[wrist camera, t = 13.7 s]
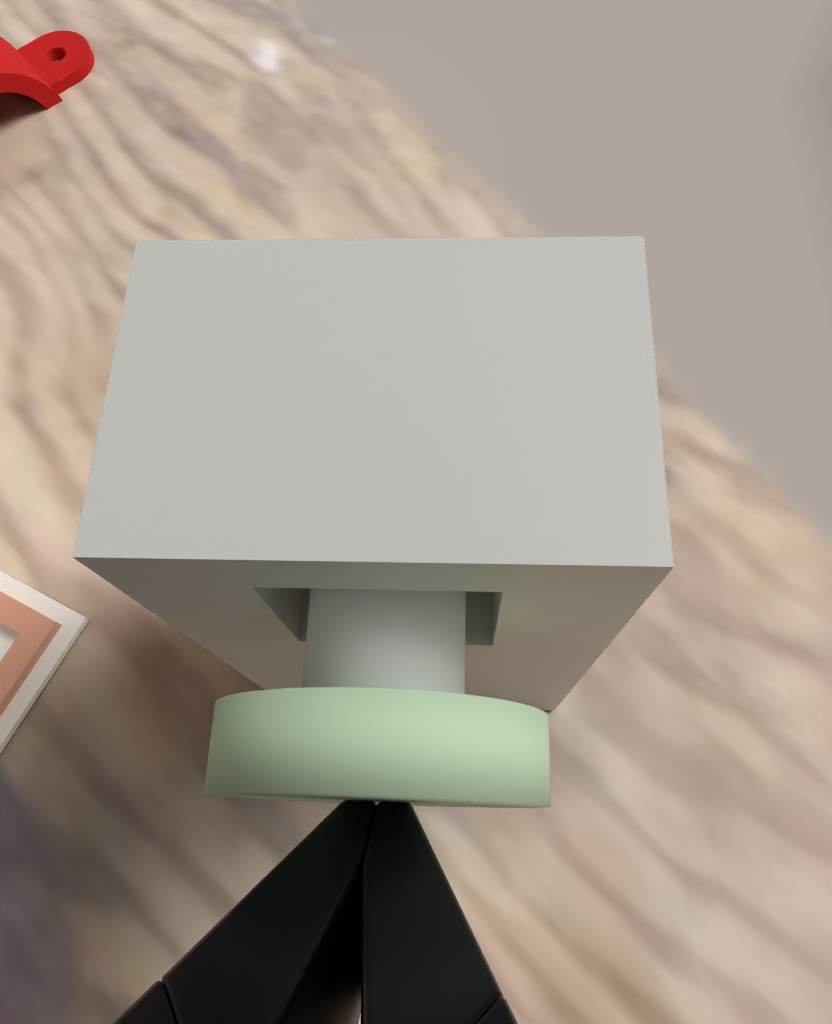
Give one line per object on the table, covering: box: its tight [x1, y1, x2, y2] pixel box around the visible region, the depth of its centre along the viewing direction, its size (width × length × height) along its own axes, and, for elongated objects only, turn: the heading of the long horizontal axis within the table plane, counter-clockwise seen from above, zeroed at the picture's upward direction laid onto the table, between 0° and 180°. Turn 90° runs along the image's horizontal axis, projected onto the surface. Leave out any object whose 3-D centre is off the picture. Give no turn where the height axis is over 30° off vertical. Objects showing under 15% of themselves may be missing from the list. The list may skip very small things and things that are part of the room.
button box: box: [73, 236, 674, 710], centre depth 13 cm, size 4×6×10 cm, turn 88°
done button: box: [204, 588, 551, 808], centre depth 10 cm, size 7×4×4 cm, turn 178°
